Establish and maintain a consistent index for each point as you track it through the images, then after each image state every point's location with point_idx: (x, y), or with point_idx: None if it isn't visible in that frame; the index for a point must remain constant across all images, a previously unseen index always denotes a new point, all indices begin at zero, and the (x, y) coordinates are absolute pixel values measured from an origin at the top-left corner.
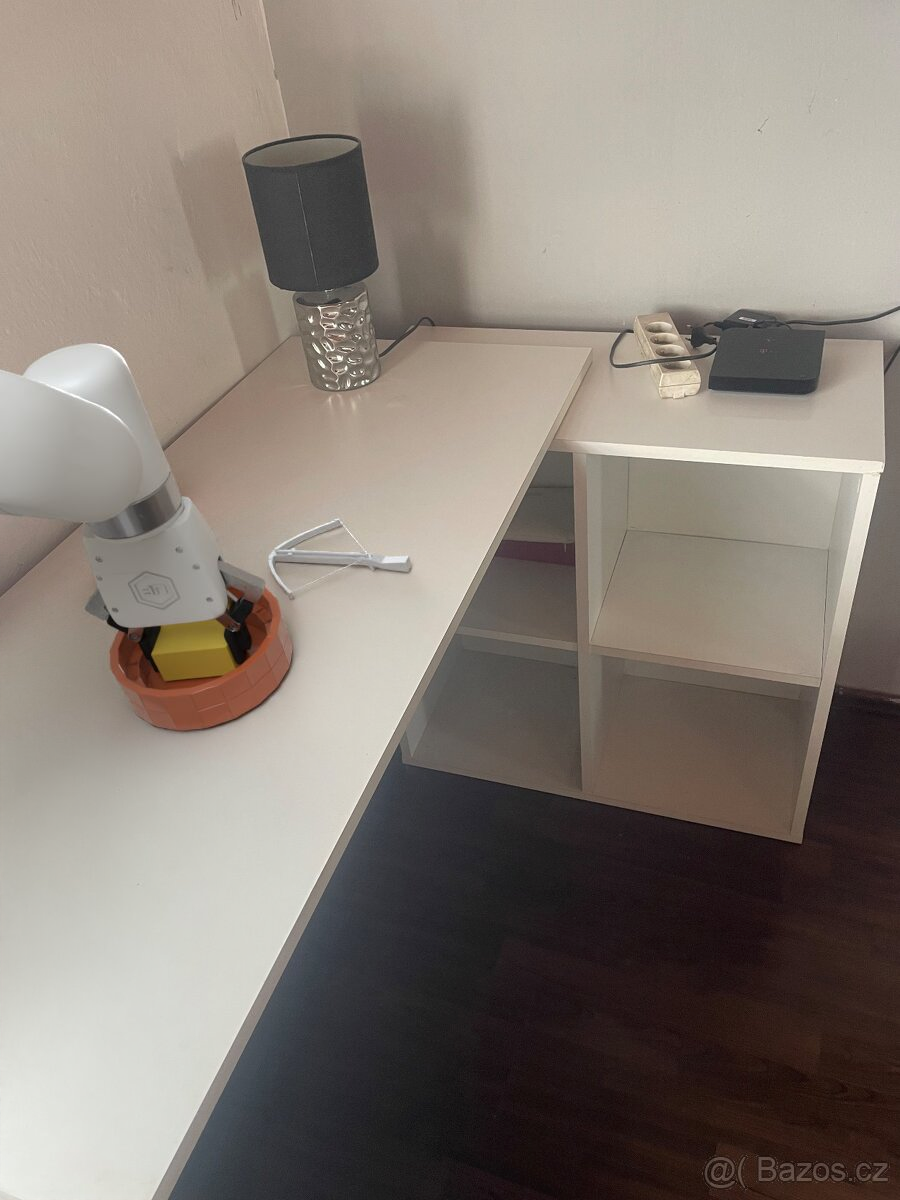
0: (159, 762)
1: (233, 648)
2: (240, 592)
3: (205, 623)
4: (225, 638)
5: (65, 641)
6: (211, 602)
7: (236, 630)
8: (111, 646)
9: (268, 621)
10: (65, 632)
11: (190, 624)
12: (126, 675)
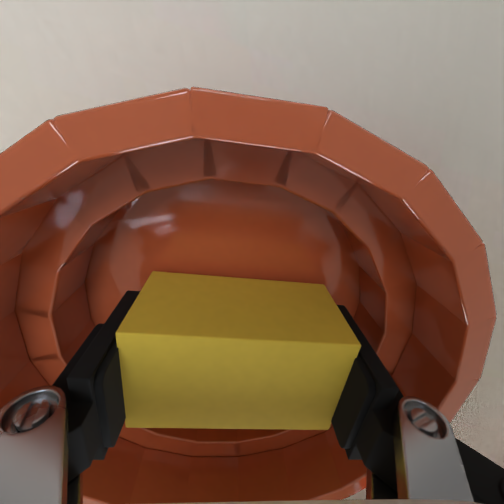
0: (336, 30)
1: (109, 327)
2: (151, 475)
3: (207, 419)
4: (106, 364)
5: (481, 400)
6: None
7: (36, 391)
8: (471, 389)
9: None
10: (477, 415)
11: (250, 421)
12: (422, 298)
